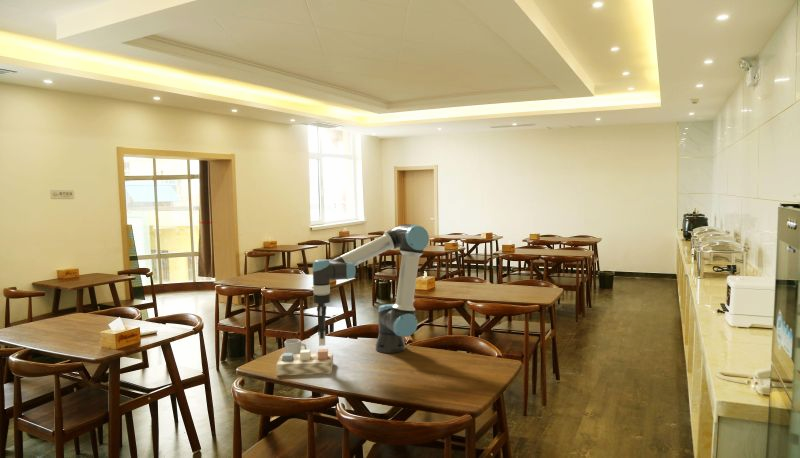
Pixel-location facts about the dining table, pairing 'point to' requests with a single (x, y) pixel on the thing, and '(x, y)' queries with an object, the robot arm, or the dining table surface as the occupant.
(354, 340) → the dining table surface
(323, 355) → the key terracotta
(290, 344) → the cup
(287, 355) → the key slate
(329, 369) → the console
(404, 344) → the robot arm
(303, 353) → the key cream
